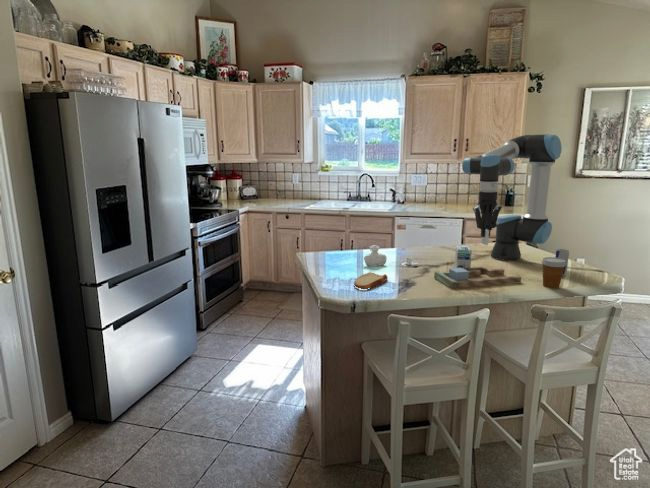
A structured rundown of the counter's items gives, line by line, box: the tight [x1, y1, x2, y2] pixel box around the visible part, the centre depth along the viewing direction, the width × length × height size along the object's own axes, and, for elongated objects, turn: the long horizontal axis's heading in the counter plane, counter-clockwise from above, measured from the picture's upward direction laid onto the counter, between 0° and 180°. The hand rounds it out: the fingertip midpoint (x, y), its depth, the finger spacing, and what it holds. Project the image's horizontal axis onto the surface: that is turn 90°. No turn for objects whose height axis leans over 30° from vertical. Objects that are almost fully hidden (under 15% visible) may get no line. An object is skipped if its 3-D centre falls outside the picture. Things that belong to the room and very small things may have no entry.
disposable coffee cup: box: [541, 256, 566, 290], centre depth 188 cm, size 10×10×12 cm
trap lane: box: [433, 266, 522, 289], centre depth 199 cm, size 34×19×3 cm, turn 104°
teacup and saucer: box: [401, 256, 419, 268], centre depth 223 cm, size 9×8×4 cm
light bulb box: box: [454, 244, 473, 268], centre depth 216 cm, size 11×7×11 cm, turn 168°
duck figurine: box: [363, 244, 388, 267], centre depth 223 cm, size 12×8×11 cm
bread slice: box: [353, 271, 388, 289], centre depth 194 cm, size 18×18×4 cm
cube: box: [448, 267, 469, 281], centre depth 194 cm, size 6×6×6 cm
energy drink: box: [555, 248, 570, 278], centre depth 204 cm, size 5×5×12 cm
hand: (484, 243), depth 194 cm, fingers closed
